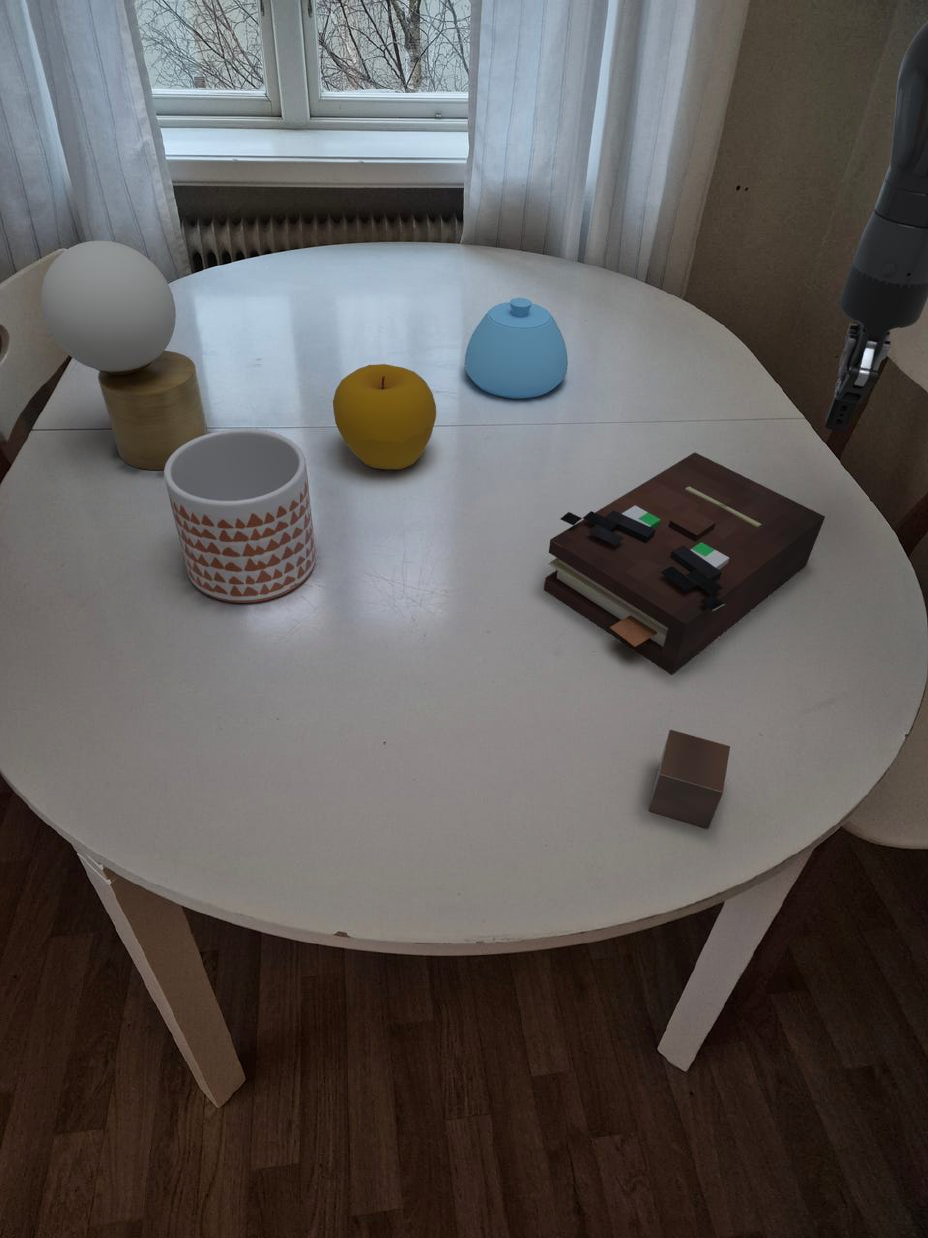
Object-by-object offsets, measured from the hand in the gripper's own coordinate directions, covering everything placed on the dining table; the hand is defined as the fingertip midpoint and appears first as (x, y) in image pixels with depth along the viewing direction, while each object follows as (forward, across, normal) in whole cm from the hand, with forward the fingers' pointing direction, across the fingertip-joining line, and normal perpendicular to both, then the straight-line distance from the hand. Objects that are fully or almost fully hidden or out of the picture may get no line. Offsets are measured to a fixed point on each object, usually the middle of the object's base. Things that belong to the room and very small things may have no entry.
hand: (835, 426), depth 93 cm
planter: (+14, -30, +56) cm, 65 cm away
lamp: (+14, -14, +80) cm, 82 cm away
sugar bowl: (+14, +22, +42) cm, 49 cm away
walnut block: (+13, -44, +7) cm, 47 cm away
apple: (+14, -5, +51) cm, 53 cm away
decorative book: (+13, -15, +12) cm, 23 cm away
